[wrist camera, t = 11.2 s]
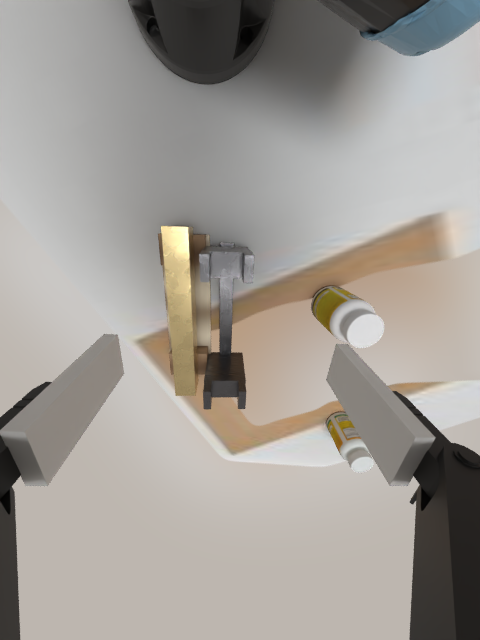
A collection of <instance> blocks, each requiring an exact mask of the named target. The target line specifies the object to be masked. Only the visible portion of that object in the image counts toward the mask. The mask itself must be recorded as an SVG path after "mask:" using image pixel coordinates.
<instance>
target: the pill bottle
mask: <svg viewBox="0 0 480 640" xmlns="http://www.w3.org/2000/svg"><path fill="white" fill-rule="evenodd" d="M311 309H312V313H313V315H314V316H315V317H316V319H317V320H318V321H319V322H320V323H321V324H322V325H323V326H324V327H326V329H327V330H328V331H330V333H331V334H332V335H333V336H335V337H336V338H337V339H339V340H340V341H343V342H349V343H350V344H351V345H352V346H354V347H357V348H365V347H369V346H371V345H373V344H375V343H376V342H377V341H378V340H379V339H380V338H381V336H382V334H383V331H384V322H383V320H382V319H381V318H380V317H379V316H378V315H376V313H375V310H374V308H373V307H372V306H371V305H370V304H369V303H368V302H366V301H364V300H362V299H360V298H359V297H357V296H355V295H353V294H351V293H349V292H348V291H346V290H344V289H342V288H340V287H337V286H328V287H325V288H323V289H321V290H320V291H318V292H317V293H316V295H315V296H314V298H313V300H312V304H311Z"/></svg>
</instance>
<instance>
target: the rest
mask: <svg viewBox="0 0 480 640" xmlns="http://www.w3.org/2000/svg"><path fill="white" fill-rule="evenodd" d="M158 239H159V250H160V260H161V265H162V266H163V277H164V288H165V299H166V310H167V322H168V333H169V344H170V353H169V358H170V369H171V374H174V370H173V358H172V347H171V335H170V324H169V312H168V300H167V289H166V277H165V266H164V254H163V242H162V233H160V234H158ZM193 246H194V272H195V299H196V325H197V352H198V374H205V372H206V365H207V358H208V354H211V295H210V281H209V282H200V262H199V253H200V252H201V251H202V250H203V249H204V248H205V247H206V246H210V235H202V234H193Z"/></svg>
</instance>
